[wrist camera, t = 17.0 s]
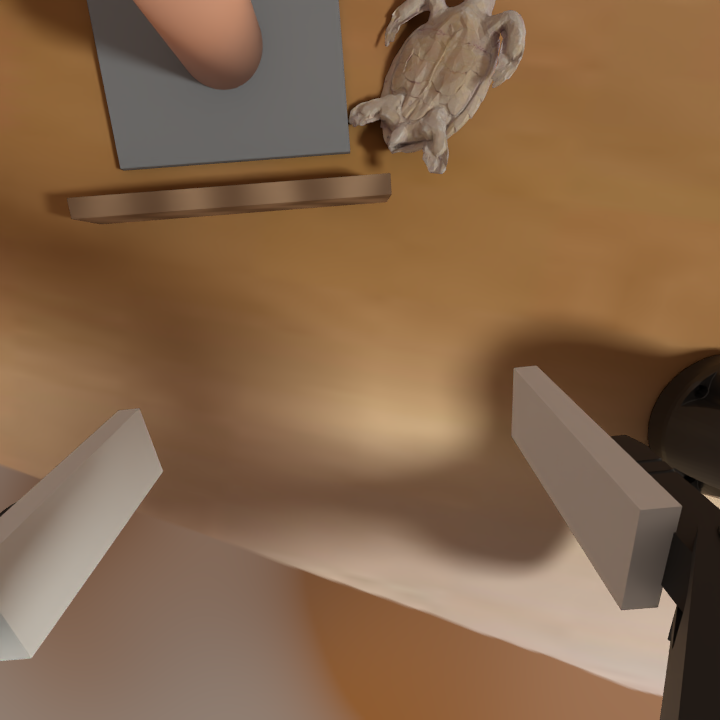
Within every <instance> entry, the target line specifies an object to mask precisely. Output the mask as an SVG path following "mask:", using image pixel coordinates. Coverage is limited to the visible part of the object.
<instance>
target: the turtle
mask: <svg viewBox="0 0 720 720" xmlns="http://www.w3.org/2000/svg"><path fill="white" fill-rule="evenodd" d="M494 5H495V0H465V1H464V2H462V3H461V4H459V5H457V6H455V7H448V6H447V5H446V3H445V0H406V1H405V2H404V3H403V4H401V5H400V6H399V7H398V8H397V9H396V10H395V11H394V13H393V14H392V19H391V21H390V23H389V25H388V27H387V29H386V33H385V46H388V45H389V42H393V41H394V38H395V34H396V33H397V32H398V30H399V28H400V26H401V25H402V24H404V23H405V22H407V21H409V20H410V19H411V18H413V17H414V16H416V15H417V14H419V13H421V12H424V11H430V16H429V20H428V22H427V23H426V24H422V25H421V26H420V27H418V28H417V29H416V30H415V31H413V32H412V34H411V35H410V36H409V37H408V38H407V39H406V40H405V42H404V43H403V45H402V47H401V48H400V50H399V52H398V53H397V55H396V56H395V58H394V60H393V62H392V64H391V67H390V69H389V71H388V73H387V75H386V77H385V81H384V87H383V91H382V94H381V98H377V99H373V100H370V101H368V102H363V103H359V104H358V105H357V106H356V107H354V108H353V109H352V110H351V112H350V116H349V119H348V122H349V123H350V124H352V125H353V126H354V127H356V126H357V125H361V126H364V125H365V124H367V123H370V122H374V121H376V120H380V119H381V127H380V128H383V138H384V141H385V143H386V144H387V145H388V148H389V150H390V151H391V153H396V152H405V153H409V152H415V151H418V150H421V149H423V151H424V154H423V160H424V162H425V163H426V165H427V167H428V170H429V172H430V173H438V174H442V173H443V172H444V171H445V170H446V165H447V162H448V155H449V152H448V145H447V139H448V138H449V137H450V136H451V135H453V134H454V133H456V132H457V131H458V130H459V129H460V128H461V127H462V126H463V125H464V124H465V123H466V122H467V121H468V120H469V118H470V119H471V118H472V117H473V115H474V114H475V112H476V111H477V109H478V107H479V105H480V103H481V102H482V101H483V100H484V98H485V96H486V93H487V91H488V88H489V86H490V84H491V82H492V79H493V81H495V82H494V83H493V87H492V88H494V87H497V86H499V85H500V84H501V83H503V82H504V81H505V80H506V79H509V78H510V77H511V75H512V74H513V73H514V71H515V70H516V69H517V66H518V64H519V62H520V60H521V59H522V55H523V52H524V46H525V35H526V30H525V25H524V21H523V19H522V17H521V15H520V14H518V13H517V12H516V11H513V10H509V11H504V12H503V13H500V14H497V15H492V10H493V8H494ZM491 15H492V16H491ZM500 33H501V35H502V37H503V40H502V43H501V48H500V40H499V36H500ZM499 48H500V53H499V56H498V51H499ZM497 58H498V64H497ZM496 64H497V67H496Z"/></svg>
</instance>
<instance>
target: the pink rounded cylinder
mask: <svg viewBox="0 0 720 720" xmlns="http://www.w3.org/2000/svg"><path fill="white" fill-rule="evenodd" d="M133 1H134V2H135V4H136V5H137V6H138V7H139V9H140V10H141V11H142V13H143V14H144V15H145V16H146V18H147V19H148V20H149V22H150V23H151V24H152V25H153V27H154V28H155V29H156V31H157V32H158V33H159V34H160V36H161V37H162V38H163V40H164V41H165V42H166V43H167V45H168V46H169V47H170V49H171V50H172V51H173V52H174V54H175V55H176V56H177V58H178V59H179V60H180V61H181V63H182V64H183V65H184V67H185V68H186V69H187V70H188V72H189V73H190V74H191V75H192V76H193V77H194V78H195V79H196V80H197V81H199V82H200V83H202V84H203V85H206V86H208V87H210V88H214V89H219V90H228V89H233V88H237V87H239V86H241V85H243V84H244V83H246V82H247V81H248V80H249V79H250V78H251V77H252V76H253V75H254V73H255V72H256V70H257V68H258V66H259V64H260V60H261V56H262V49H263V42H262V34H261V30H260V27H259V24H258V21H257V18H256V15H255V12H254V9H253V6H252V3H251V0H133Z"/></svg>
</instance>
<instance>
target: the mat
mask: <svg viewBox="0 0 720 720" xmlns="http://www.w3.org/2000/svg"><path fill="white" fill-rule="evenodd" d="M251 3H252V6H253V9H254V12H255V15H256V18H257V21H258V24H259V27H260V30H261V34H262V42H263V49H262V56H261V60H260V64H259V66H258V68H257V70H256V72H255V73H254V75H253V76H252V77H251V78H250V79H249V80H248V81H247V82H246V83H244V84H243V85H241V86H239V87H237V88H233V89H228V90H219V89H214V88H210V87H208V86H206V85H203V84H202V83H200V82H199V81H197V80H196V79H195V78H194V77H193V76H192V75H191V74H190V73H189V72H188V70H187V69H186V68H185V67H184V65H183V64H182V63H181V61H180V60H179V59H178V58H177V56H176V55H175V54H174V52H173V51H172V50H171V49H170V47H169V46H168V45H167V43H166V42H165V41H164V40H163V38H162V37H161V36H160V34H159V33H158V32H157V31H156V29H155V28H154V27H153V25H152V24H151V23H150V22H149V20H148V19H147V18H146V16H145V15H144V14H143V13H142V11H141V10H140V9H139V7H138V6H137V5H136V4H135V2H134V1H133V0H87V4H88V9H89V14H90V19H91V24H92V29H93V34H94V39H95V44H96V49H97V54H98V59H99V64H100V69H101V74H102V79H103V84H104V89H105V94H106V99H107V104H108V109H109V114H110V119H111V124H112V129H113V134H114V139H115V144H116V149H117V154H118V159H119V164H120V169H122V170H136V169H149V168H162V167H176V166H189V165H202V164H215V163H229V162H242V161H255V160H268V159H281V158H295V157H308V156H321V155H334V154H347V153H350V143H349V130H348V117H347V104H346V91H345V78H344V65H343V52H342V39H341V26H340V13H339V0H251Z"/></svg>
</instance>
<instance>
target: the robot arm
mask: <svg viewBox="0 0 720 720" xmlns="http://www.w3.org/2000/svg"><path fill="white" fill-rule="evenodd" d="M511 436H512V438H513V440H514V441H515V443H516V444H517V446H518V448H519V449H520V451H521V452H522V454H523V455H524V457H525V459H526V460H527V462H528V463H529V465H530V467H531V468H532V470H533V471H534V473H535V475H536V476H537V478H538V479H539V481H540V482H541V484H542V486H543V487H544V489H545V490H546V492H547V494H548V495H549V497H550V498H551V500H552V501H553V503H554V505H555V506H556V508H557V509H558V511H559V513H560V514H561V516H562V517H563V519H564V520H565V522H566V524H567V525H568V527H569V528H570V530H571V532H572V533H573V535H574V536H575V538H576V540H577V541H578V543H579V544H580V546H581V547H582V549H583V551H584V552H585V554H586V555H587V557H588V559H589V560H590V562H591V563H592V565H593V566H594V568H595V570H596V571H597V573H598V574H599V576H600V578H601V579H602V581H603V582H604V584H605V585H606V587H607V589H608V590H609V592H610V593H611V595H612V597H613V598H614V600H615V601H616V603H617V605H618V606H619V608H620V609H621V610H630V609H642V608H655V607H658V605H659V600H660V596H661V592H662V588H664V589H665V590H666V592H667V593H668V594H669V596H670V597H671V598H672V599H673V601H674V602H675V603H676V605H677V606H676V610H675V614H674V617H673V621H672V625H671V629H670V632H669V636H668V640H669V641H671V642H670V649H669V656H668V664H667V671H666V678H665V686H664V693H663V700H662V708H661V715H660V720H720V509H719V508H718V507H716V506H715V505H714V504H713V503H712V502H711V501H709V500H708V499H707V498H706V497H705V496H704V495H708V496H712V497H715V498H719V499H720V355H715V356H711V357H708V358H706V359H703V360H701V361H699V362H697V363H695V364H693V365H691V366H690V367H688V368H686V369H685V370H684V371H682V372H681V373H680V374H679V375H677V376H676V377H675V378H674V379H673V380H672V381H671V382H670V383H669V384H668V386H667V387H666V388H665V389H664V391H663V392H662V393H661V395H660V397H659V398H658V400H657V402H656V404H655V406H654V408H653V411H652V414H651V417H650V422H649V428H648V439H649V446H650V448H649V447H648V446H647V445H645V444H643V443H641V442H639V441H637V440H635V439H633V438H631V437H629V436H627V435H621V436H611V437H610V436H609V435H608V434H607V433H606V432H605V431H604V430H603V429H602V428H601V427H600V426H599V425H598V424H597V423H595V422H594V421H593V420H592V419H591V418H590V417H589V416H588V415H587V414H586V413H585V412H584V411H583V410H582V409H581V408H580V407H579V406H578V405H577V404H576V403H575V402H574V401H573V400H572V399H571V398H570V397H569V396H567V395H566V394H565V393H564V392H563V391H562V390H561V389H560V388H559V387H558V386H557V385H556V384H555V383H554V382H553V381H552V380H551V379H550V378H549V377H548V376H547V375H546V374H545V373H544V372H543V371H542V370H541V369H539V368H538V367H537V366H527V367H518V368H514V372H513V404H512V435H511ZM162 472H163V470H162V467H161V464H160V462H159V459H158V456H157V454H156V451H155V448H154V446H153V443H152V440H151V438H150V435H149V432H148V430H147V427H146V424H145V422H144V419H143V416H142V414H141V411H140V408H137V409H127V410H118V411H117V412H116V413H115V414H114V415H113V416H112V417H111V418H110V419H108V420H107V421H106V422H105V423H104V424H103V425H102V426H101V427H100V428H98V429H97V430H96V431H95V432H94V433H93V434H92V435H91V436H90V437H89V438H87V439H86V440H85V441H84V442H83V443H82V444H81V445H80V446H79V447H77V448H76V449H75V450H74V451H73V452H72V453H71V454H70V455H69V456H67V457H66V458H65V459H64V460H63V461H62V462H61V463H60V464H59V465H57V466H56V467H55V468H54V469H53V470H52V471H51V472H50V473H49V474H47V475H46V476H45V477H44V478H43V479H42V480H41V481H40V482H39V483H37V484H36V485H35V486H34V487H33V488H32V489H31V490H30V491H29V492H27V493H26V494H25V495H24V496H23V497H22V498H21V499H20V500H19V501H17V502H16V503H14V504H12V505H11V506H9V507H8V508H6V509H5V510H4V511H2V512H1V513H0V661H4V660H16V659H29V658H32V656H33V655H34V654H35V652H36V651H37V650H38V648H39V647H40V645H41V644H42V642H43V641H44V640H45V638H46V637H47V635H48V634H49V632H50V631H51V630H52V628H53V627H54V626H55V624H56V623H57V621H58V620H59V618H60V617H61V616H62V614H63V612H64V611H65V610H66V608H67V607H68V606H69V604H70V603H71V601H72V600H73V599H74V597H75V596H76V594H77V593H78V591H79V590H80V589H81V587H82V586H83V584H84V583H85V581H86V580H87V579H88V577H89V576H90V574H91V573H92V572H93V570H94V568H95V567H96V566H97V565H98V563H99V562H100V560H101V559H102V557H103V556H104V554H105V553H106V552H107V550H108V549H109V547H110V546H111V545H112V543H113V542H114V540H115V539H116V538H117V536H118V535H119V533H120V532H121V530H122V529H123V528H124V526H125V525H126V523H127V522H128V520H129V519H130V518H131V516H132V515H133V513H134V512H135V511H136V509H137V508H138V506H139V505H140V504H141V502H142V501H143V499H144V498H145V496H146V495H147V494H148V492H149V491H150V489H151V488H152V486H153V485H154V484H155V482H156V481H157V479H158V478H159V477H160V475H161V474H162ZM703 494H704V495H703Z"/></svg>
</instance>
